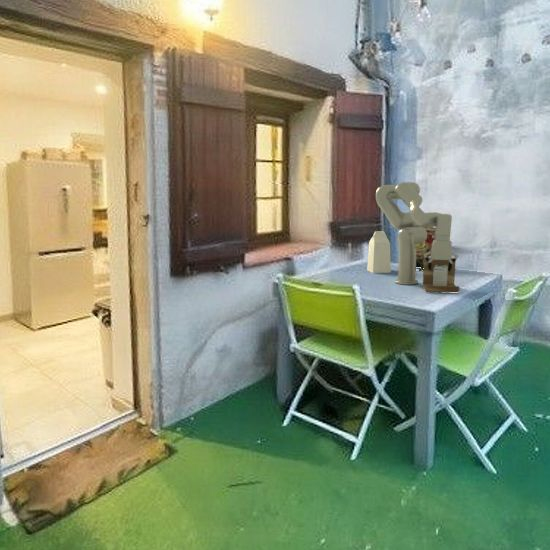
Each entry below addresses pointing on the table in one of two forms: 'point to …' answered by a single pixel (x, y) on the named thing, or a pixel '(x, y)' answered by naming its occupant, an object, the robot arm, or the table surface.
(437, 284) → the light bulb box
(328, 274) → the table surface
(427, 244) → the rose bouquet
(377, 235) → the milk
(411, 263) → the robot arm
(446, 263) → the cleat board
